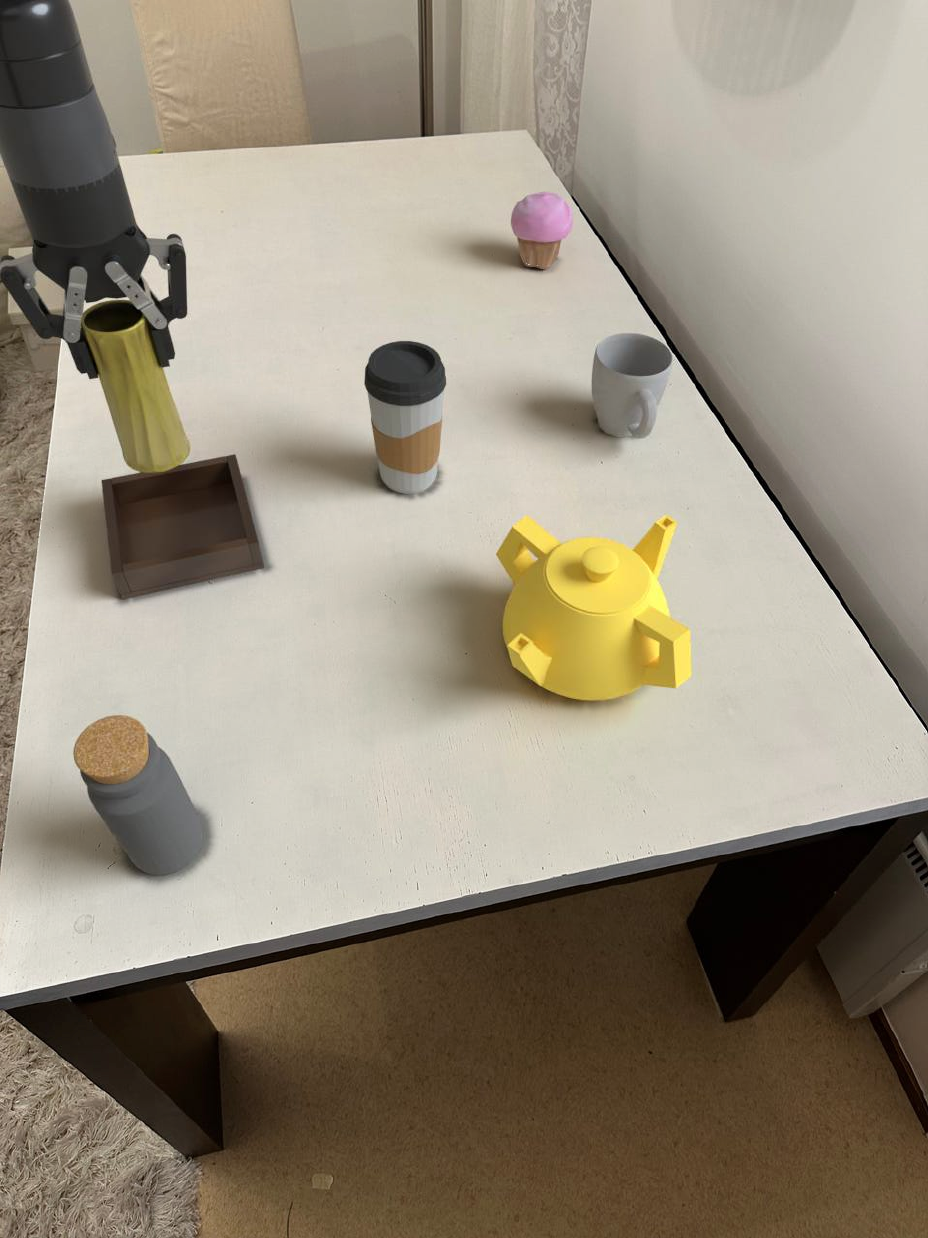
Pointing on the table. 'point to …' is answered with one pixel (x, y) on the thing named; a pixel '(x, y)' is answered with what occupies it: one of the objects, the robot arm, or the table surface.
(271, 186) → the table surface
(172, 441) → the vase
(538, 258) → the cupcake
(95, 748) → the bottle
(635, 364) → the mug
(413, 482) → the coffee cup
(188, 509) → the tray
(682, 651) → the teapot
